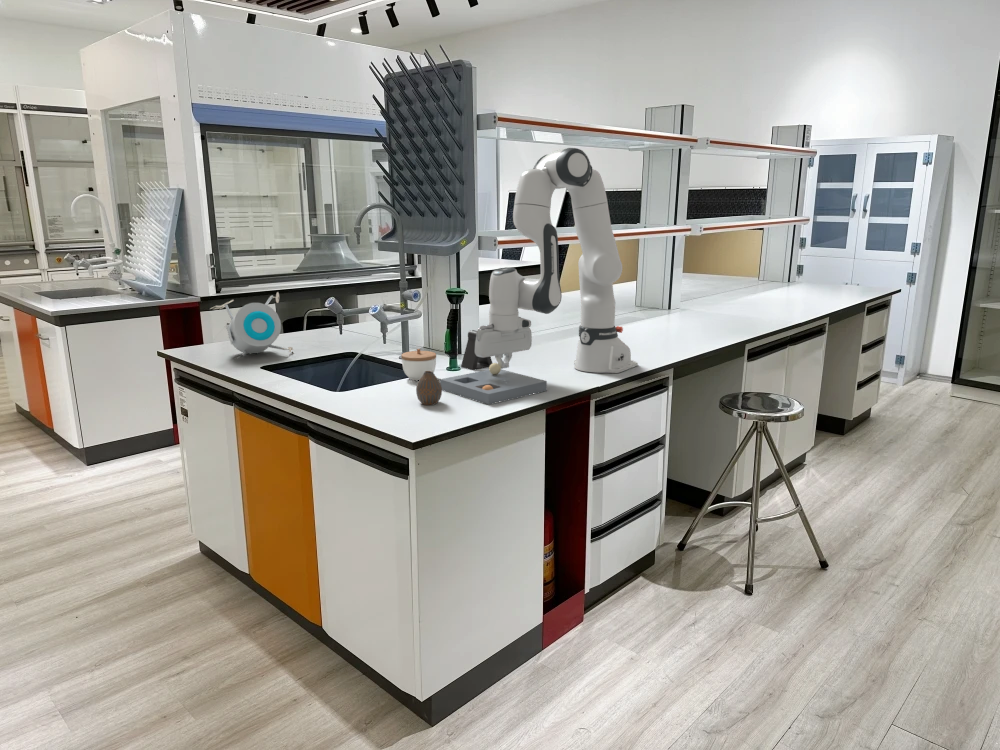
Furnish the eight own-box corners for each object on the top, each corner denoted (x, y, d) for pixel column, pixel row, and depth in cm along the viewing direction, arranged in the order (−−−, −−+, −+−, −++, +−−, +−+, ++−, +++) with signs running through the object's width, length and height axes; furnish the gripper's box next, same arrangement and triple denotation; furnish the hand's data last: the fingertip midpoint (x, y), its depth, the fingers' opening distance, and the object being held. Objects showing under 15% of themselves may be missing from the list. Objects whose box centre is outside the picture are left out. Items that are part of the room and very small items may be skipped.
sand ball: (495, 372, 211) (495, 361, 210) (503, 374, 208) (503, 363, 208) (486, 374, 209) (486, 363, 208) (494, 376, 206) (494, 364, 205)
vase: (443, 399, 192) (443, 369, 190) (440, 406, 185) (439, 374, 183) (419, 399, 193) (418, 368, 191) (414, 406, 186) (413, 374, 184)
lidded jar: (431, 373, 223) (430, 344, 221) (441, 380, 213) (440, 350, 211) (398, 376, 219) (397, 347, 217) (407, 384, 210) (406, 353, 207)
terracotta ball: (490, 389, 197) (484, 381, 195) (498, 391, 195) (492, 383, 193) (483, 398, 196) (477, 390, 194) (491, 401, 194) (485, 393, 191)
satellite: (271, 301, 264) (202, 312, 251) (284, 285, 248) (211, 296, 234) (287, 358, 263) (219, 372, 250) (301, 346, 247) (229, 360, 233)
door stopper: (481, 363, 237) (481, 328, 235) (493, 366, 233) (493, 331, 230) (461, 367, 232) (460, 331, 229) (472, 370, 227) (471, 334, 224)
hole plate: (497, 377, 217) (496, 368, 217) (546, 391, 201) (546, 381, 201) (440, 389, 203) (440, 379, 203) (488, 404, 187) (488, 394, 187)
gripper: (483, 327, 198) (483, 374, 202) (535, 320, 211) (534, 365, 215) (470, 325, 203) (470, 371, 206) (521, 318, 216) (520, 361, 219)
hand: (503, 367), depth 211 cm, fingers closed
